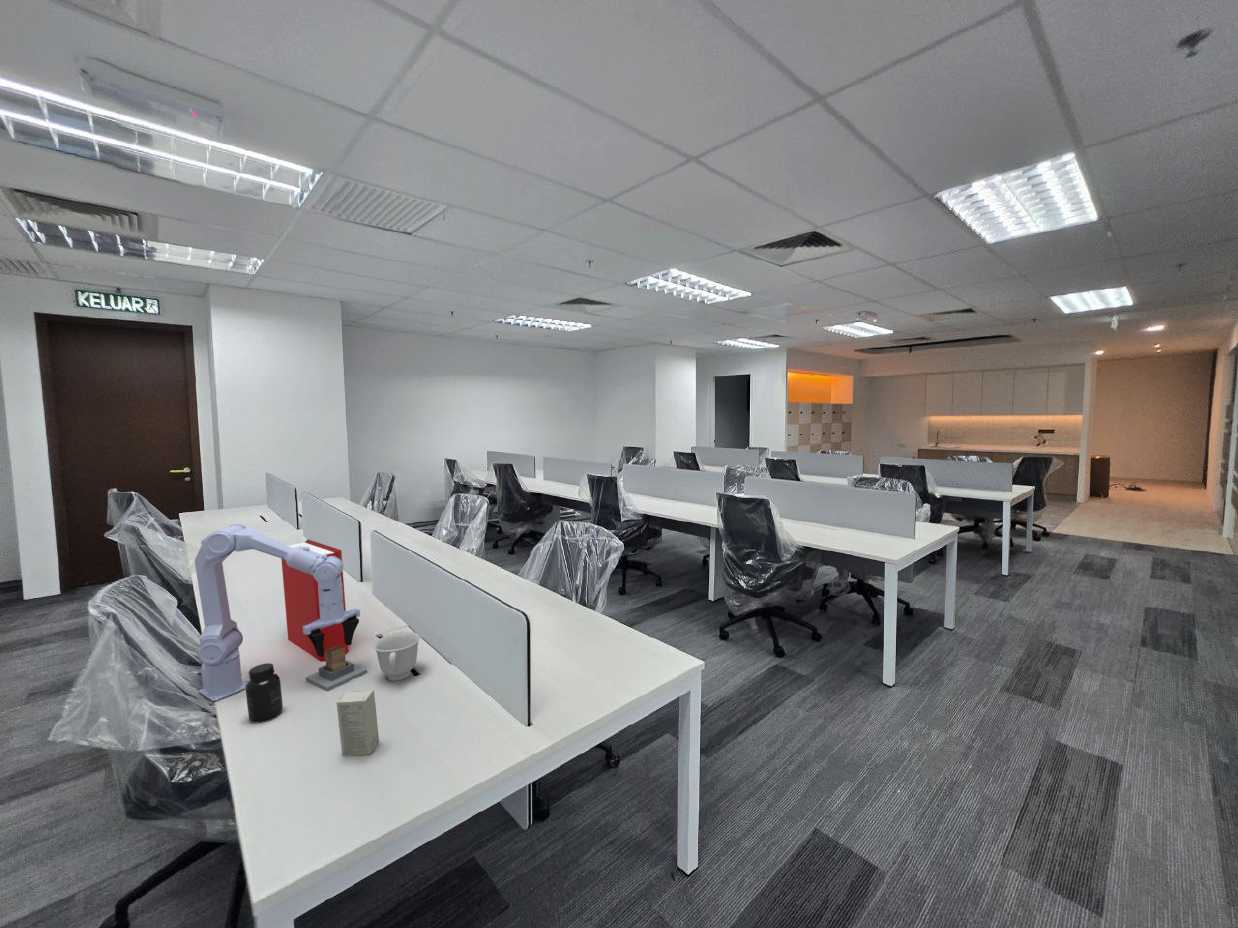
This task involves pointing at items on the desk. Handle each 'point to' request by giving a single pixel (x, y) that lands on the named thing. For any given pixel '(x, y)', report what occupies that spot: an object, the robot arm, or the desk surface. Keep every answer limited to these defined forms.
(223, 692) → the robot arm
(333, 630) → the book
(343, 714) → the skincare box
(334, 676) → the stand
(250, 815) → the desk surface
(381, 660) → the teacup
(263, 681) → the supplement bottle
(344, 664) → the oak peg
